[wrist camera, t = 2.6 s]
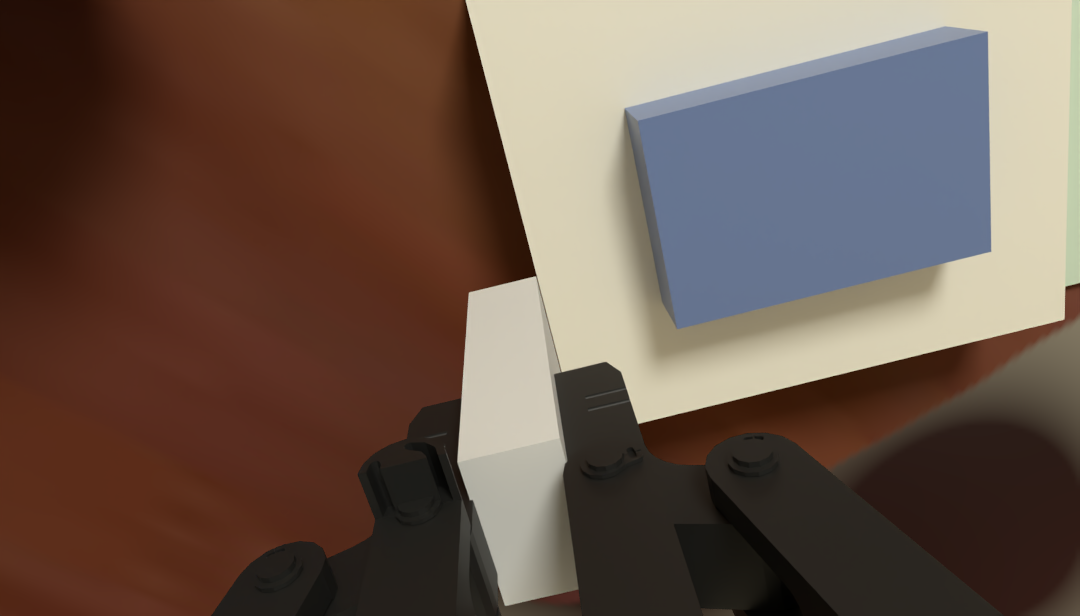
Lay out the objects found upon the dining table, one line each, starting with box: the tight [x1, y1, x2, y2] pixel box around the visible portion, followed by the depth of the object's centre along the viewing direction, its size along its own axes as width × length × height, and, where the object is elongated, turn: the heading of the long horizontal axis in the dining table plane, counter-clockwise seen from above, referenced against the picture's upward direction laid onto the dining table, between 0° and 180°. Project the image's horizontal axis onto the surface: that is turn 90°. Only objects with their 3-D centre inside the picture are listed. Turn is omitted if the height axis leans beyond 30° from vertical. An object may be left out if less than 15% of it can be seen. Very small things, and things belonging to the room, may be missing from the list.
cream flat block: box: [466, 0, 1072, 424], centre depth 25 cm, size 16×14×4 cm
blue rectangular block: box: [625, 26, 991, 329], centre depth 22 cm, size 9×6×2 cm, turn 104°
